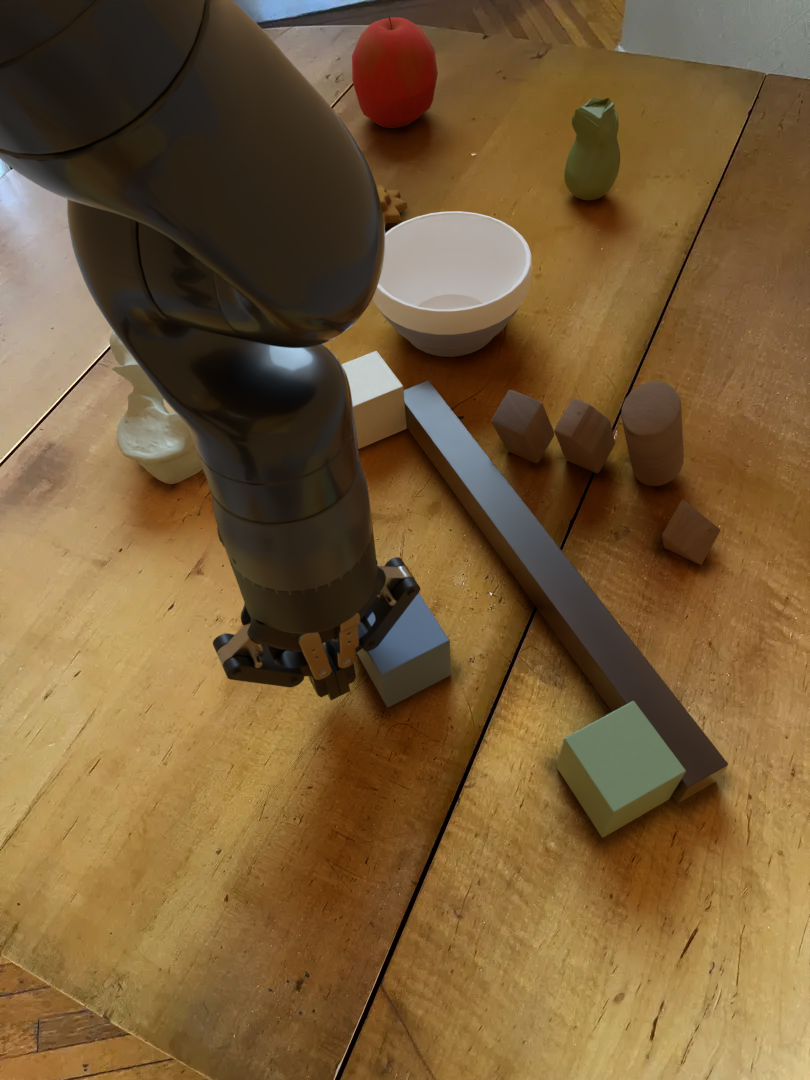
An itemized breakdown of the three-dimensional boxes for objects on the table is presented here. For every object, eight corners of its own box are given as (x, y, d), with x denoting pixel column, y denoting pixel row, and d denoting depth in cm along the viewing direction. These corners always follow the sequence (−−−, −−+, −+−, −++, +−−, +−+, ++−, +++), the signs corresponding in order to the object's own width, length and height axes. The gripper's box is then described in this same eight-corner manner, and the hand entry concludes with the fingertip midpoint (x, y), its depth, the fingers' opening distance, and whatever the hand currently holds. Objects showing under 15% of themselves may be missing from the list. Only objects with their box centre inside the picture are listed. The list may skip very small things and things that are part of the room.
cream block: (354, 451, 69) (347, 408, 65) (330, 414, 72) (322, 371, 68) (407, 428, 70) (403, 386, 66) (381, 393, 73) (376, 350, 69)
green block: (602, 838, 49) (613, 813, 45) (556, 767, 52) (563, 737, 48) (669, 799, 51) (687, 771, 46) (621, 731, 53) (633, 699, 49)
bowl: (361, 294, 81) (353, 225, 75) (503, 267, 82) (506, 198, 76) (390, 394, 73) (383, 327, 66) (548, 363, 74) (555, 294, 67)
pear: (624, 196, 88) (639, 102, 79) (588, 216, 86) (600, 122, 78) (587, 175, 90) (598, 82, 82) (551, 194, 89) (559, 100, 81)
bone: (275, 358, 77) (256, 284, 70) (295, 468, 68) (275, 394, 61) (133, 387, 76) (100, 315, 69) (134, 503, 67) (97, 431, 60)
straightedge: (677, 804, 50) (688, 787, 48) (399, 417, 71) (397, 392, 68) (716, 781, 51) (729, 764, 49) (429, 405, 72) (428, 379, 69)
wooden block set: (499, 476, 69) (468, 427, 60) (550, 390, 70) (526, 328, 61) (701, 571, 62) (701, 532, 52) (755, 473, 62) (764, 418, 53)
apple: (410, 149, 96) (403, 43, 87) (340, 129, 99) (326, 26, 90) (453, 108, 101) (451, 5, 91) (385, 92, 104) (376, -10, 95)
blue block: (387, 708, 55) (380, 675, 51) (355, 651, 58) (346, 615, 54) (451, 675, 56) (450, 640, 52) (417, 620, 59) (413, 583, 55)
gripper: (197, 637, 37) (264, 778, 51) (448, 526, 41) (447, 686, 55) (149, 526, 42) (223, 684, 55) (381, 433, 45) (396, 603, 59)
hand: (334, 685), depth 55 cm, fingers closed
